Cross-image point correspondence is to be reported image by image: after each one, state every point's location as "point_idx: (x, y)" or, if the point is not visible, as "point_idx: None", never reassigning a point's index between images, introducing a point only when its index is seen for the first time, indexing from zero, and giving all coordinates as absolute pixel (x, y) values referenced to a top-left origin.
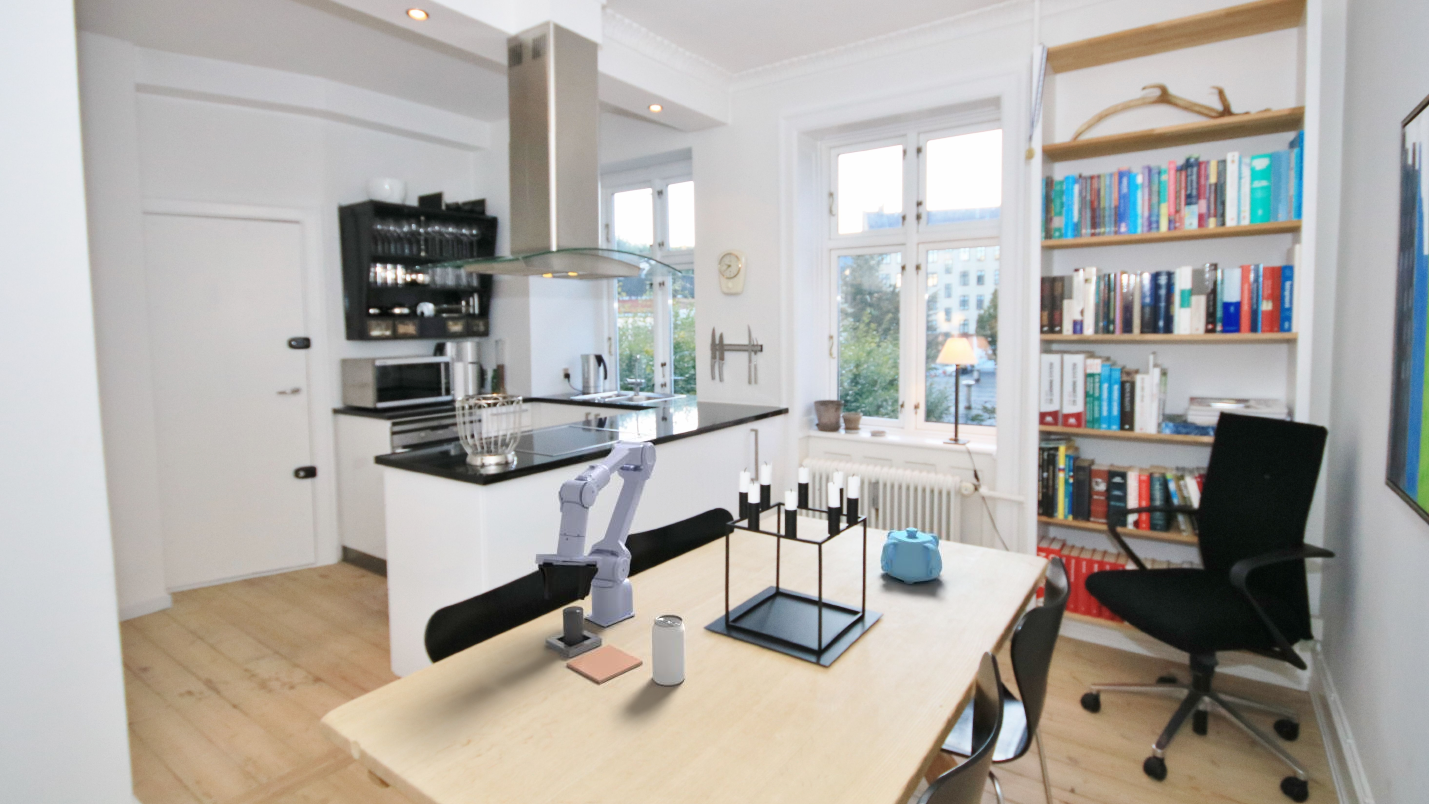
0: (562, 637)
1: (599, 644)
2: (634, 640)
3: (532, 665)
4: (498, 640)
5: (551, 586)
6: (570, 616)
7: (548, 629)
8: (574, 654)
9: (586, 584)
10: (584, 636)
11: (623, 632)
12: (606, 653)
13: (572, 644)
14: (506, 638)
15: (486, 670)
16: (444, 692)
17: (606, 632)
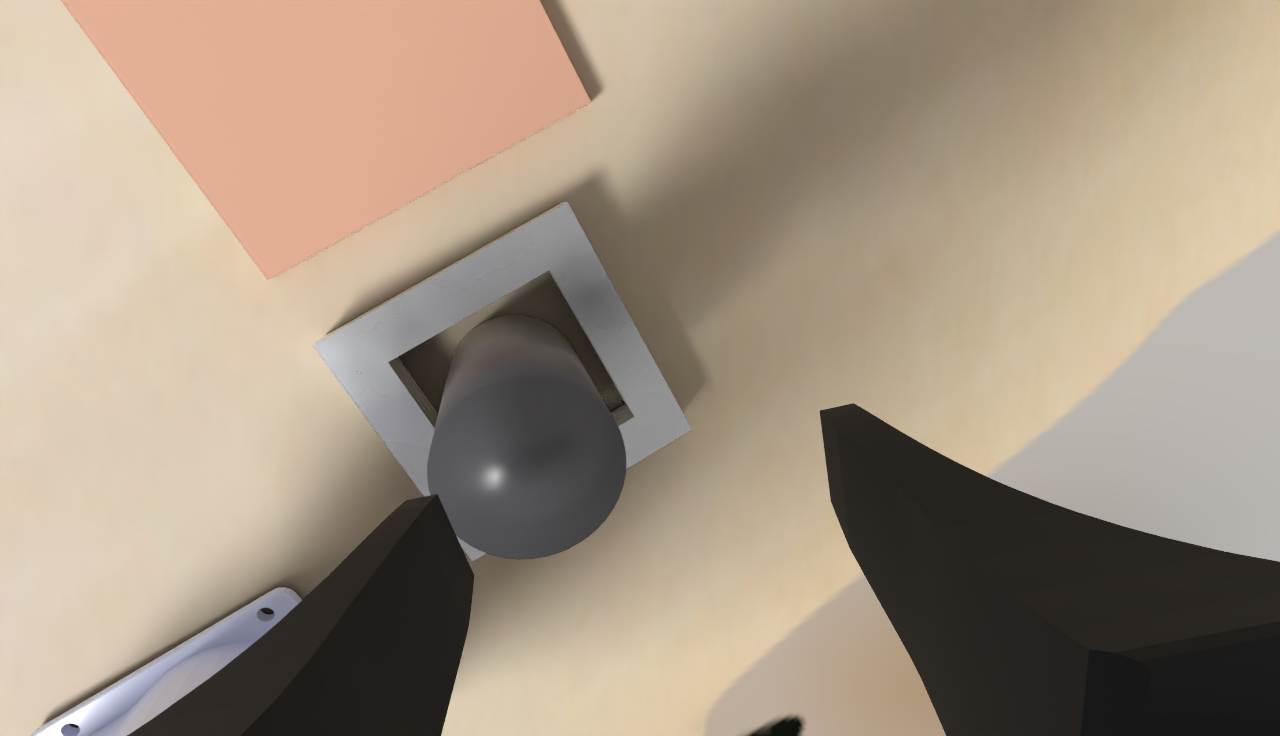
0: None
1: (342, 326)
2: (56, 333)
3: (780, 181)
4: None
5: (908, 472)
6: (561, 373)
7: (643, 618)
8: (527, 222)
9: (324, 619)
10: None
11: (145, 484)
12: (296, 139)
13: (532, 322)
14: None
15: (999, 208)
16: (1197, 34)
17: (279, 510)
